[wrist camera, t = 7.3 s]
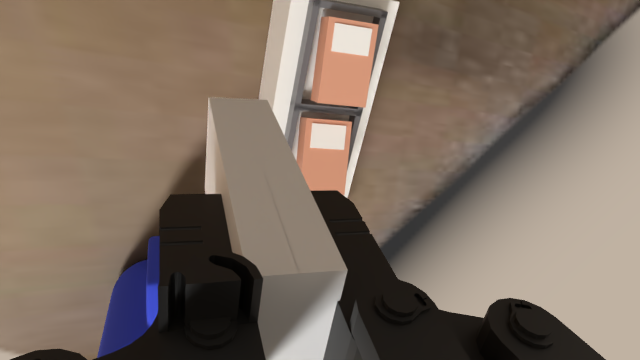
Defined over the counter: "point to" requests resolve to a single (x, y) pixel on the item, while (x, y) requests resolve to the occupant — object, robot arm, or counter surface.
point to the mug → (132, 302)
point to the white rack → (299, 64)
